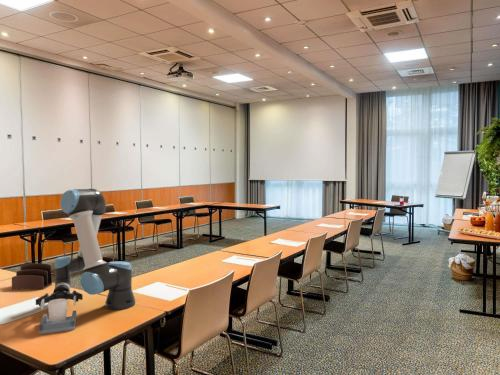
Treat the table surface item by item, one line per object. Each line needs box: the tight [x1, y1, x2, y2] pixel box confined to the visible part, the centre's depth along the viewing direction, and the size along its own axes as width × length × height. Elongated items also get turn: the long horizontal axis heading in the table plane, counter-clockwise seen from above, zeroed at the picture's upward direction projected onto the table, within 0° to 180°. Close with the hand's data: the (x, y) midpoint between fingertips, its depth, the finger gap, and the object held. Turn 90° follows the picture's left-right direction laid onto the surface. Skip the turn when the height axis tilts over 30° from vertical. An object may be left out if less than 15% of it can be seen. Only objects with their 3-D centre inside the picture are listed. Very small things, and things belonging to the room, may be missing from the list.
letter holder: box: [11, 262, 53, 290], centre depth 237 cm, size 10×20×14 cm, turn 89°
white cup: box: [47, 299, 68, 323], centre depth 175 cm, size 8×8×10 cm
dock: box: [38, 310, 77, 335], centre depth 175 cm, size 14×14×4 cm
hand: (58, 304), depth 176 cm, fingers open, 13 cm apart
